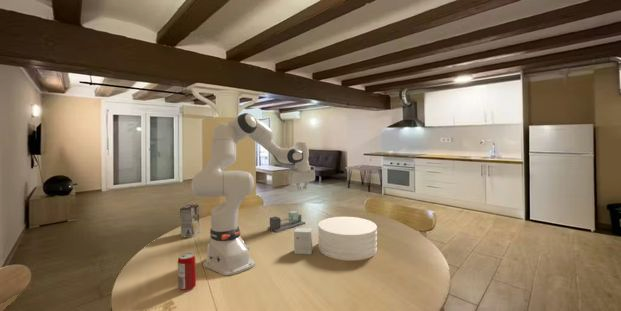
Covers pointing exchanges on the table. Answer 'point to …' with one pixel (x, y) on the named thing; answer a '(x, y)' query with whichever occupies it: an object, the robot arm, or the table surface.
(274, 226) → the slider rail mechanism
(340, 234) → the plate stack
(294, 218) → the sleeve
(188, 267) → the soda can
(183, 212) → the coffee box
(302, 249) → the small box
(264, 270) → the table surface
